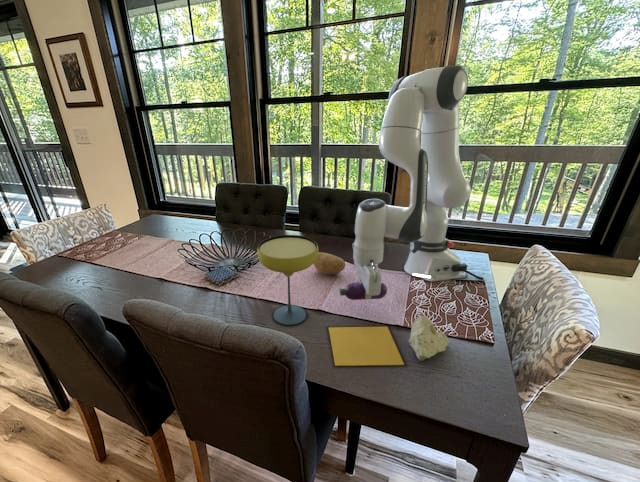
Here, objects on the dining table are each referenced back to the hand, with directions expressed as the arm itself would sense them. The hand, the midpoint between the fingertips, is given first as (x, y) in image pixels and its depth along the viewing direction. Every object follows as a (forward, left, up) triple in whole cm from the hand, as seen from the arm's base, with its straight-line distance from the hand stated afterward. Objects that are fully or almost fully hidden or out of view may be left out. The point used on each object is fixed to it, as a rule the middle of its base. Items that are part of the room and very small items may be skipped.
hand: (365, 292), depth 101 cm
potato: (+9, -26, -7) cm, 28 cm away
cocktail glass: (+25, +3, -7) cm, 26 cm away
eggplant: (0, 0, -2) cm, 2 cm away
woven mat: (+53, -24, -7) cm, 58 cm away
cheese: (-12, +23, -7) cm, 27 cm away
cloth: (+4, +18, -7) cm, 19 cm away
